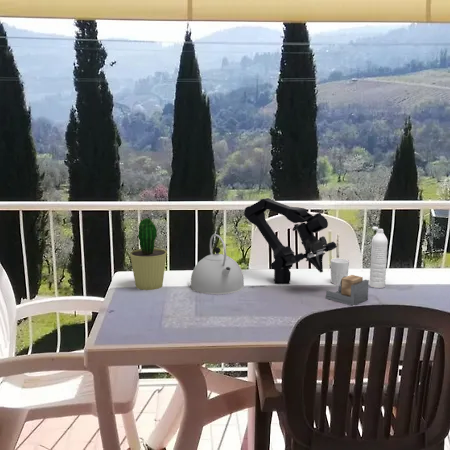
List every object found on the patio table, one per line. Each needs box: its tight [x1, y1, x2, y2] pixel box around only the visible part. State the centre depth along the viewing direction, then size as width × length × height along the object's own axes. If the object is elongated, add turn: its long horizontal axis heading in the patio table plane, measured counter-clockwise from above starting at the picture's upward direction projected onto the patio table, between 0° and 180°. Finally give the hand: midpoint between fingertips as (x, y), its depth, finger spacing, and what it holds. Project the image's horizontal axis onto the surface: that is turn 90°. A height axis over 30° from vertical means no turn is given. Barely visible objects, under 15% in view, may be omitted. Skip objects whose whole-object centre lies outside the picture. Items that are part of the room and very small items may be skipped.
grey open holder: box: [325, 279, 370, 306], centre depth 218 cm, size 13×10×8 cm
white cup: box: [330, 257, 350, 286], centre depth 240 cm, size 8×8×10 cm
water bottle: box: [369, 226, 389, 289], centre depth 234 cm, size 9×6×25 cm
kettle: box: [190, 233, 245, 296], centre depth 232 cm, size 25×23×23 cm
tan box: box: [339, 274, 364, 296], centre depth 217 cm, size 6×7×8 cm
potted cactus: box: [129, 217, 168, 291], centre depth 232 cm, size 15×15×30 cm
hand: (321, 272), depth 225 cm, fingers closed
